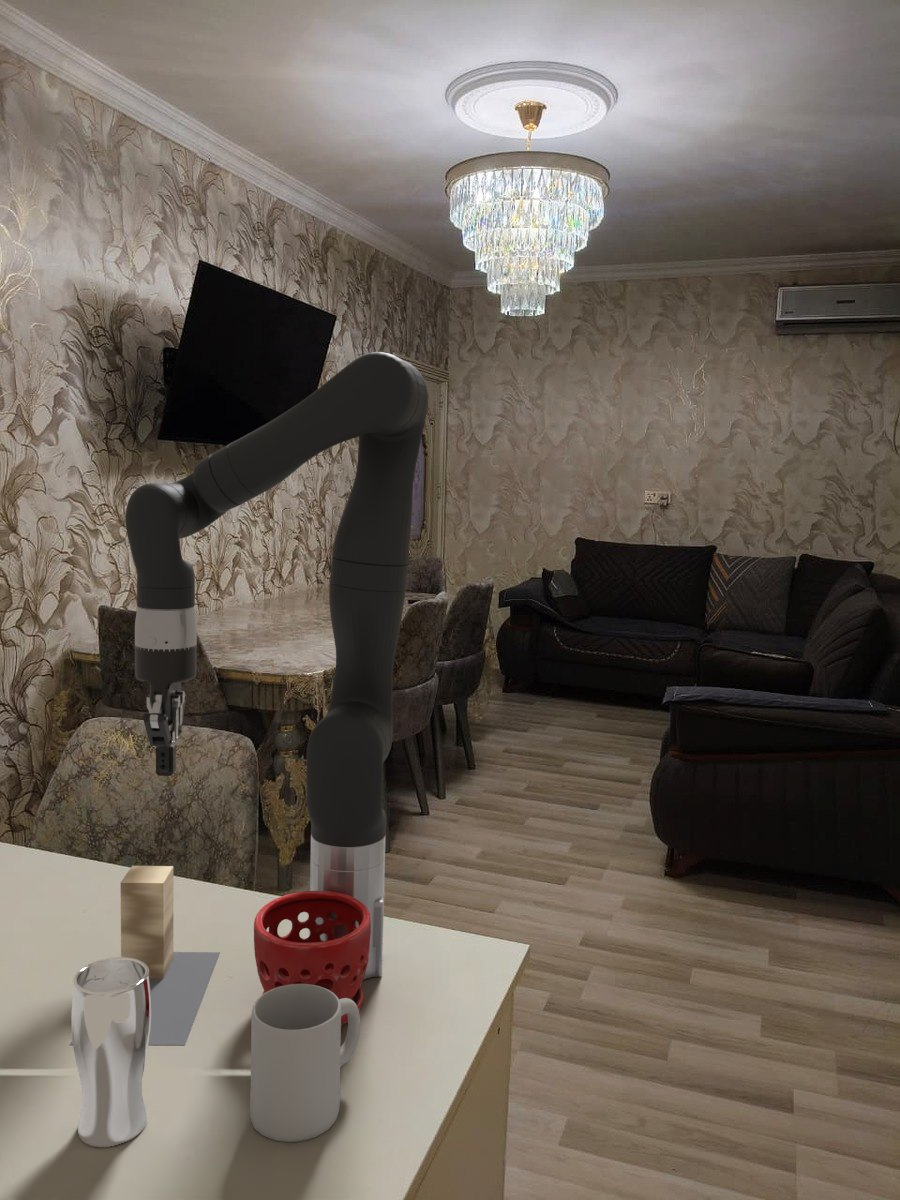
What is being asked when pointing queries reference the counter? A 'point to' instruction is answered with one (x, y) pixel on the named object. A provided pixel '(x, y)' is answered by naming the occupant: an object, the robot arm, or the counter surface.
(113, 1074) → the beer glass
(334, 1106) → the mug
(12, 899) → the counter surface
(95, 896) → the counter surface
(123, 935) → the maple block
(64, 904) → the counter surface
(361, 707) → the robot arm
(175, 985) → the rubber mat
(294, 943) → the plant pot
